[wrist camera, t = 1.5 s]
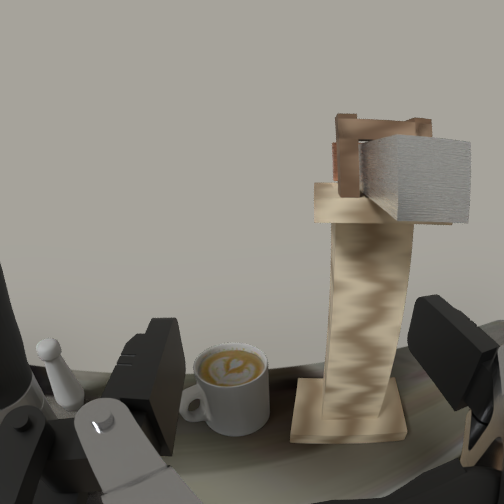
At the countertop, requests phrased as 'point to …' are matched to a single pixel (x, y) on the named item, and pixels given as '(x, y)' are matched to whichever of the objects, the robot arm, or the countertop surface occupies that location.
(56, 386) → the salt shaker
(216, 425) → the coffee mug
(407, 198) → the bar
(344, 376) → the shelf stand
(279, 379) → the countertop surface
